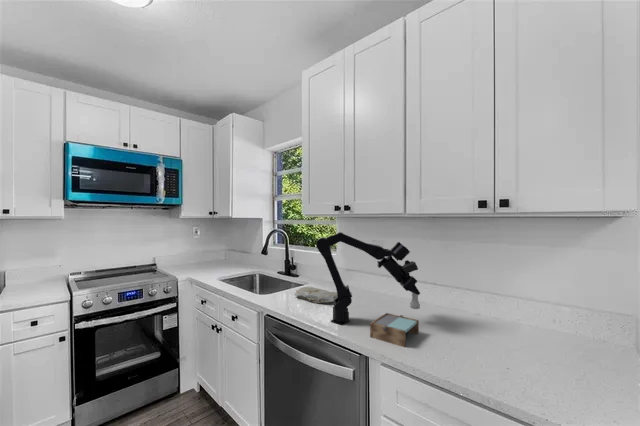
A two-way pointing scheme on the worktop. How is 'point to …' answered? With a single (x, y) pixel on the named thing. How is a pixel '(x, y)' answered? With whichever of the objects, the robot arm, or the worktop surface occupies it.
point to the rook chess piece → (414, 301)
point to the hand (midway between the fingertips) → (418, 293)
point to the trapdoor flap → (397, 322)
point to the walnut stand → (391, 332)
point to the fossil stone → (316, 294)
